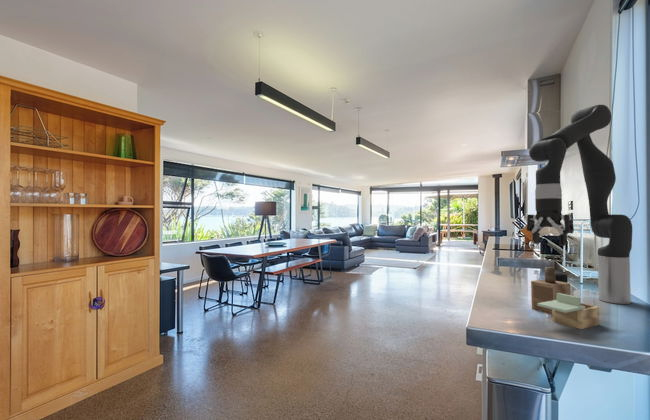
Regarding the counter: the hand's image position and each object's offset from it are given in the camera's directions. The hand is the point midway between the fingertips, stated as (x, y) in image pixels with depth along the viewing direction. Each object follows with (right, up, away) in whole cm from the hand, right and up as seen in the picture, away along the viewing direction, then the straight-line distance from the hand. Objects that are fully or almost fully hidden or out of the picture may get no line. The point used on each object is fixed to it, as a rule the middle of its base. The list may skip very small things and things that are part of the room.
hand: (549, 244), depth 112 cm
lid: (-7, -17, -15) cm, 24 cm away
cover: (0, -23, 0) cm, 23 cm away
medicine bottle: (+9, -24, +9) cm, 27 cm away
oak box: (-1, -23, -13) cm, 27 cm away
